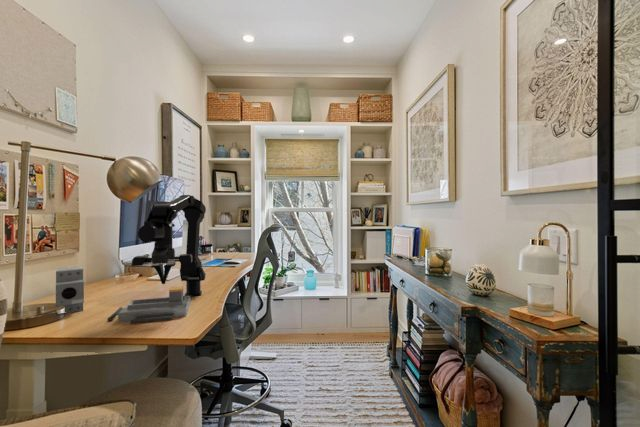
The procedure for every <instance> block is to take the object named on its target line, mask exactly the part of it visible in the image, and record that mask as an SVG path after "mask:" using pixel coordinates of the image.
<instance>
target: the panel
mask: <svg viewBox="0 0 640 427" xmlns="http://www.w3.org/2000/svg"><path fill="white" fill-rule="evenodd" d="M190 306H191V296H185V295H183V300H182V301H172V302H169V296H168V297H155V298H142V299H140V298H139V299H132V300H130V301H129V302H128V303H126V305H125V306H124V307H122V308H123V309H122V310H121V311H120V312H119V313H118V315H117V316H118V317H117V318H118V319H117V320H118V323H126V322H130V320H133V319H144V318H155V317H165V316H172V318H178V317H187V315H188V312H189V309H190Z"/></svg>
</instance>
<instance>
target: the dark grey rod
mask: <svg viewBox="0 0 640 427" xmlns="http://www.w3.org/2000/svg"><path fill="white" fill-rule="evenodd" d="M123 308H124V307H122V306H120V307H119V308H118V309H117V310H116V311H114V313H112V314H111V315H110V316H109V317H108V318H107V321H108V322H112V321H113V320H114V319H115V318H116V317H117V316H118V313H119V312H120V311H121V310H122V309H123Z"/></svg>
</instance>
